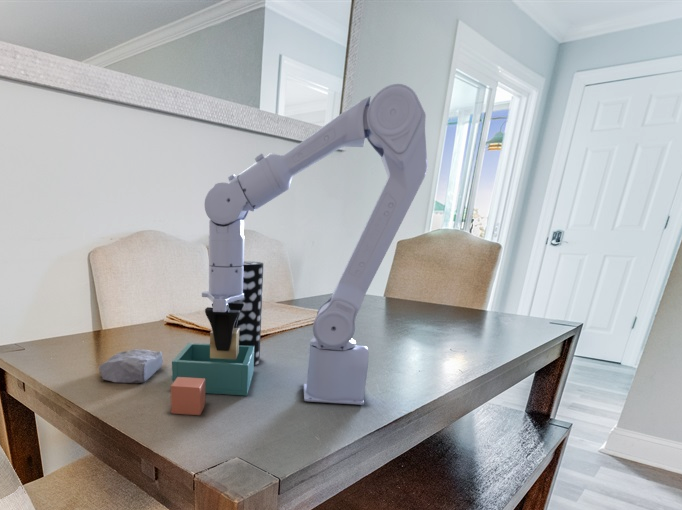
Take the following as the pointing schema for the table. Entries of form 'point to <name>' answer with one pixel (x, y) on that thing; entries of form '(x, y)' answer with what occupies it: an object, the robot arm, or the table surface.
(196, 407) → the coral block
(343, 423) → the table surface
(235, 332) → the maple block
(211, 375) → the teal storage bin
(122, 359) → the stone block
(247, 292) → the spotted tube
